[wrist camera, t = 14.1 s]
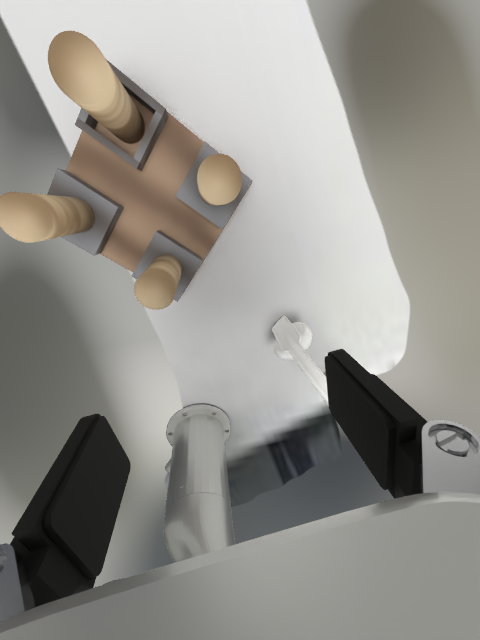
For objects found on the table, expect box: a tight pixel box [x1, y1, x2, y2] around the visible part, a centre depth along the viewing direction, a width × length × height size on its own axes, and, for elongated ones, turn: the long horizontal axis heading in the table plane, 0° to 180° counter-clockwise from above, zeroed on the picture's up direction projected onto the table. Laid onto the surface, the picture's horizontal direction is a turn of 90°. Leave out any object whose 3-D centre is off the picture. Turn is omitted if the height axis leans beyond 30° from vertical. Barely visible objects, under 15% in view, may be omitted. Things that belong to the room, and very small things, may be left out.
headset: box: [272, 315, 329, 406], centre depth 39 cm, size 20×7×18 cm, turn 42°
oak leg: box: [48, 31, 145, 144], centre depth 22 cm, size 4×4×12 cm
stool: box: [0, 61, 252, 310], centre depth 26 cm, size 18×18×15 cm
